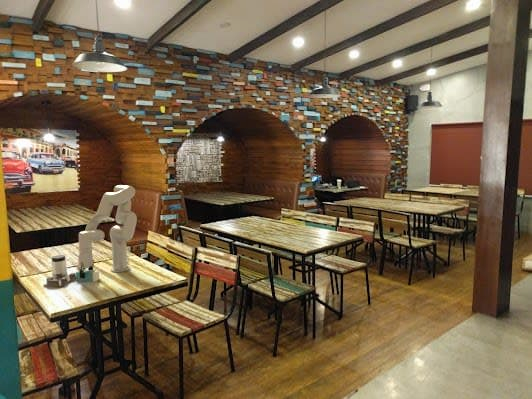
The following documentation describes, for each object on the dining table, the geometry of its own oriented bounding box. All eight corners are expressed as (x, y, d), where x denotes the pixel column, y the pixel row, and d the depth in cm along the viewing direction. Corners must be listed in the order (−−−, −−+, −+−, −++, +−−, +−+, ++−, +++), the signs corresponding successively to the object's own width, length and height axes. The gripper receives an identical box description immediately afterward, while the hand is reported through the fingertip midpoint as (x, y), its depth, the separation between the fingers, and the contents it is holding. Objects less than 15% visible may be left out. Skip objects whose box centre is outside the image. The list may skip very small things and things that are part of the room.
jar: (58, 271, 279) (56, 254, 277) (69, 271, 278) (67, 254, 277) (50, 275, 270) (48, 258, 268) (61, 275, 269) (60, 258, 268)
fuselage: (76, 281, 259) (75, 272, 258) (80, 278, 264) (80, 269, 263) (95, 281, 257) (94, 272, 256) (99, 279, 262) (98, 270, 261)
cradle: (62, 276, 267) (61, 270, 266) (78, 277, 266) (78, 271, 265) (43, 286, 248) (42, 280, 248) (61, 287, 247) (61, 280, 246)
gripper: (87, 247, 266) (88, 271, 268) (72, 253, 249) (73, 279, 251) (98, 247, 266) (99, 272, 268) (83, 253, 248) (84, 280, 250)
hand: (86, 276), depth 259 cm, fingers open, 9 cm apart
